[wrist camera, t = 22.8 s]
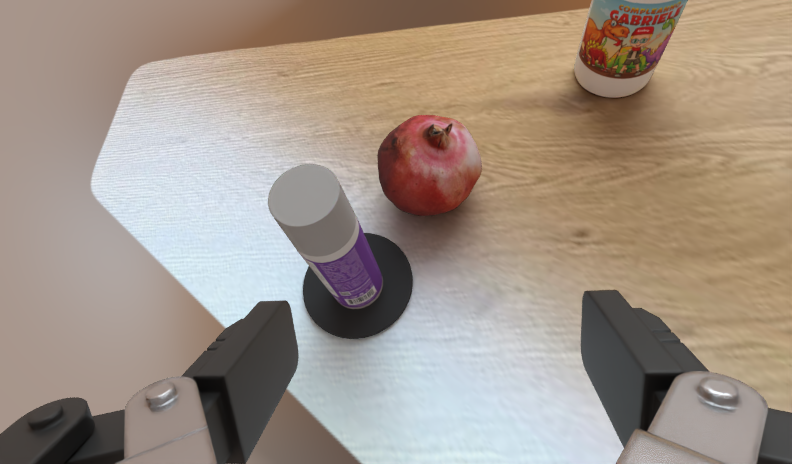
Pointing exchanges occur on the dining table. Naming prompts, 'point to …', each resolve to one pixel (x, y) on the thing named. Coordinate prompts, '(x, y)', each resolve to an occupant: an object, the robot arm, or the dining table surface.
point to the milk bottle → (624, 44)
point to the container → (326, 233)
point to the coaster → (376, 314)
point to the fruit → (428, 165)
